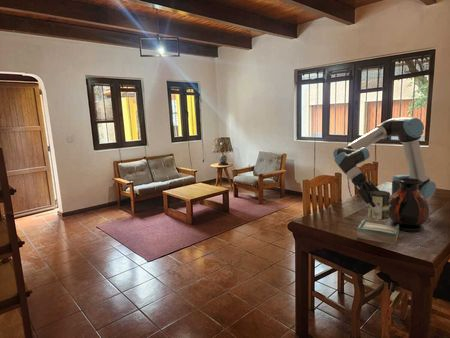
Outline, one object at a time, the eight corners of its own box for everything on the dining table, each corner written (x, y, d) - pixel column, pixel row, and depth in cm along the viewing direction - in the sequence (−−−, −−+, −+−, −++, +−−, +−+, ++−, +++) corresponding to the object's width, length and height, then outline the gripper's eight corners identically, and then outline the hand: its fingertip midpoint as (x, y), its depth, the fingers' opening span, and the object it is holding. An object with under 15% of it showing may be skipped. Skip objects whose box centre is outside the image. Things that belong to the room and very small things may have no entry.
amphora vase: (386, 219, 186) (388, 175, 182) (428, 224, 175) (431, 177, 170) (383, 230, 168) (386, 182, 164) (430, 237, 157) (433, 185, 153)
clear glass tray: (363, 228, 173) (363, 219, 172) (398, 234, 163) (399, 224, 162) (356, 237, 160) (357, 227, 160) (395, 244, 150) (395, 234, 149)
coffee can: (385, 215, 164) (386, 190, 162) (391, 221, 154) (393, 195, 152) (365, 214, 166) (366, 190, 164) (370, 220, 156) (371, 194, 154)
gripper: (361, 177, 176) (387, 208, 167) (341, 183, 162) (369, 218, 153) (370, 169, 171) (398, 201, 162) (350, 175, 157) (380, 210, 148)
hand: (384, 209), depth 157 cm, fingers closed on coffee can, 10 cm apart
